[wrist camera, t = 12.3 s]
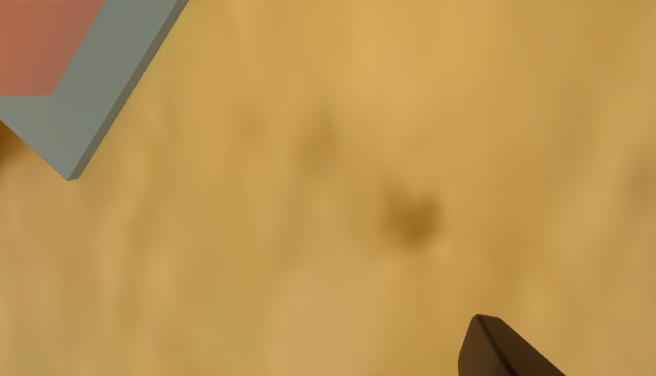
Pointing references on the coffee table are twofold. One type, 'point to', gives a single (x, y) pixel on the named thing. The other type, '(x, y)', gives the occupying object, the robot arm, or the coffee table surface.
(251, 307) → the coffee table surface
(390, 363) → the coffee table surface
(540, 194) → the coffee table surface
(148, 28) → the green pad
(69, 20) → the terracotta peg
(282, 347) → the coffee table surface
